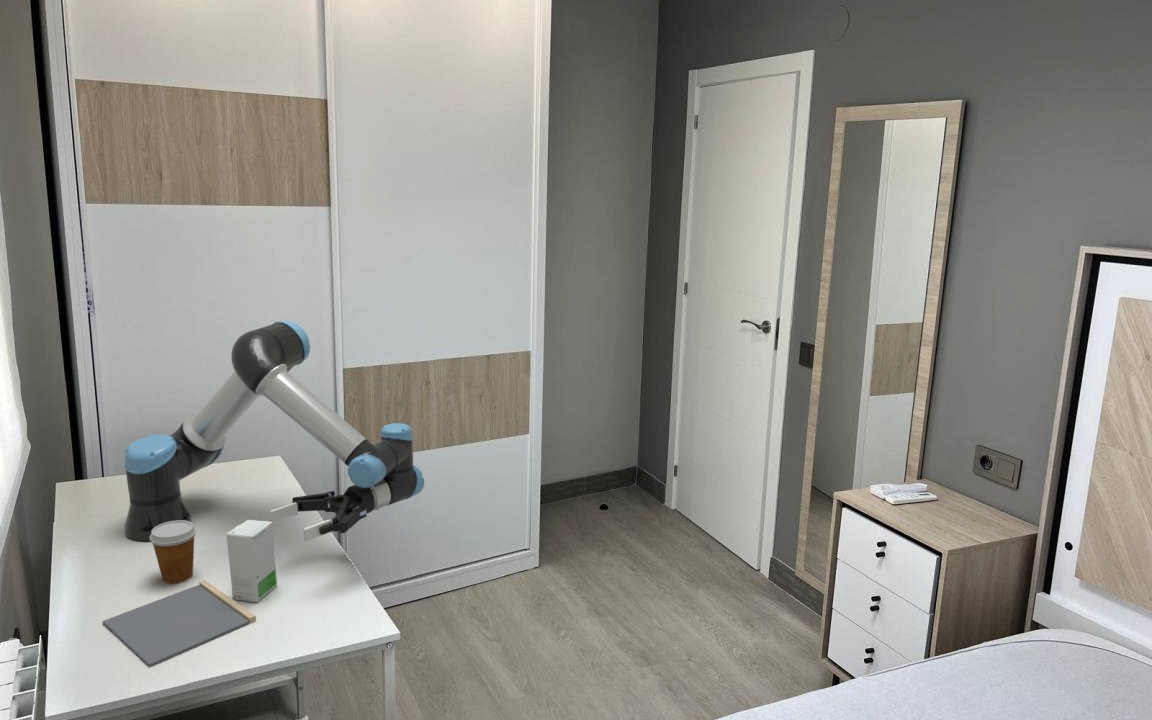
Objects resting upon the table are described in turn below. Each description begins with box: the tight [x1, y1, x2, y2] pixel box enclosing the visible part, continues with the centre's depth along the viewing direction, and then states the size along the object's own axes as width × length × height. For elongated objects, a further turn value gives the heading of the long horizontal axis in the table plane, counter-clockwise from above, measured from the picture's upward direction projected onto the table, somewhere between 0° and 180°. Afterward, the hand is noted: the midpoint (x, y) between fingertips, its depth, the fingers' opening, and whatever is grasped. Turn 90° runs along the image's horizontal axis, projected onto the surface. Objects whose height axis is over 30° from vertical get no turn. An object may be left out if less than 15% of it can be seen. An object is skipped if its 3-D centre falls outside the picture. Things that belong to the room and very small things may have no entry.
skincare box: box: [226, 519, 278, 603], centre depth 183 cm, size 8×7×16 cm
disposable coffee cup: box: [150, 520, 197, 584], centre depth 189 cm, size 10×10×12 cm
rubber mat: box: [102, 579, 257, 668], centre depth 172 cm, size 22×22×1 cm
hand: (287, 525), depth 186 cm, fingers open, 13 cm apart
